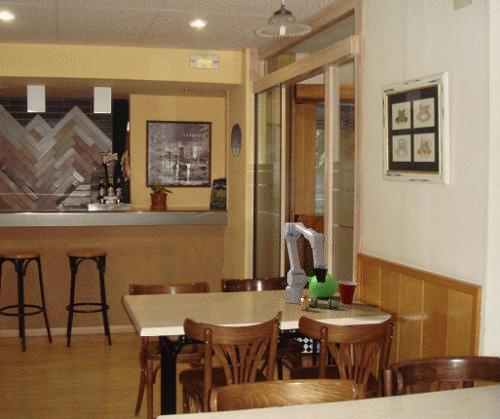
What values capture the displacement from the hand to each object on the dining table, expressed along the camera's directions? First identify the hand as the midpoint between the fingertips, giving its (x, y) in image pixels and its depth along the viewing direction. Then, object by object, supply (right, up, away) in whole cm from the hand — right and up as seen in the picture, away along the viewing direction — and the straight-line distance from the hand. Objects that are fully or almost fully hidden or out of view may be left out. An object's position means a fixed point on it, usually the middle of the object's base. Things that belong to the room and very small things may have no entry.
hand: (321, 282), depth 375 cm
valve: (-8, -15, +2) cm, 17 cm away
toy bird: (+4, -13, +41) cm, 43 cm away
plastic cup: (+16, -14, +24) cm, 32 cm away
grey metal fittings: (+2, -14, +9) cm, 17 cm away
